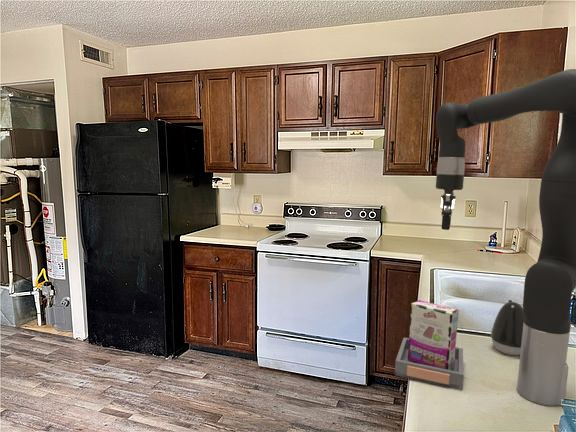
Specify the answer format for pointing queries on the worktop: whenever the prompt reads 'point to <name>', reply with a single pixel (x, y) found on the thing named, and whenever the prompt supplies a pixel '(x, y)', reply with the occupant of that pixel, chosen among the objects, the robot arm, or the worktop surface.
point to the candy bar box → (432, 335)
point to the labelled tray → (429, 369)
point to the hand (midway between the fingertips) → (445, 227)
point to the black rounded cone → (508, 328)
